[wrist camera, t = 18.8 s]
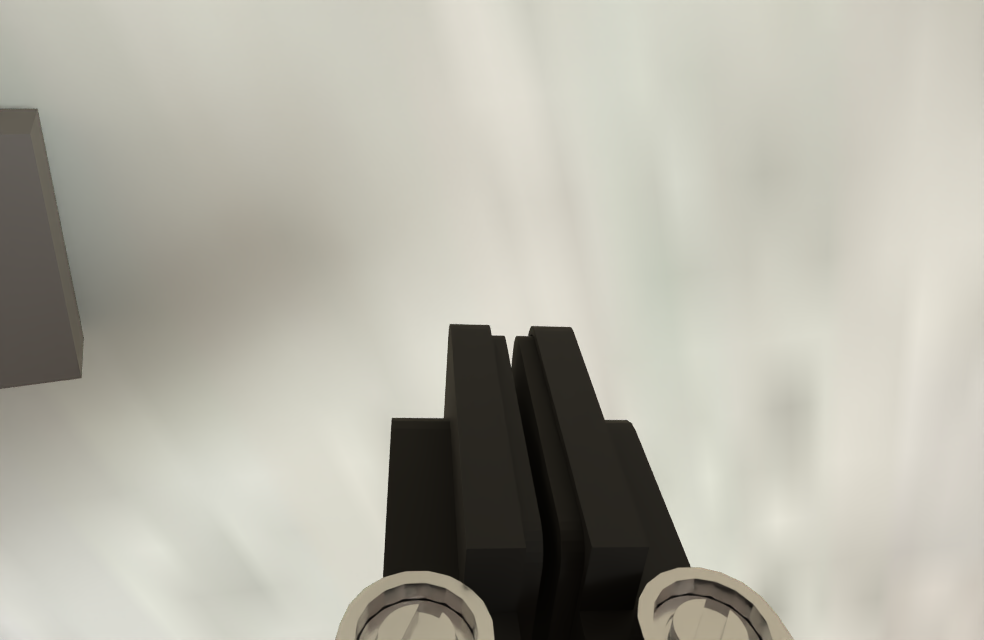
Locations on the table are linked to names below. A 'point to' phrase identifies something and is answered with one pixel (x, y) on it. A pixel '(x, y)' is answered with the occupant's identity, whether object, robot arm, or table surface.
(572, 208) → the table surface
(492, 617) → the robot arm
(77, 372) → the domino
